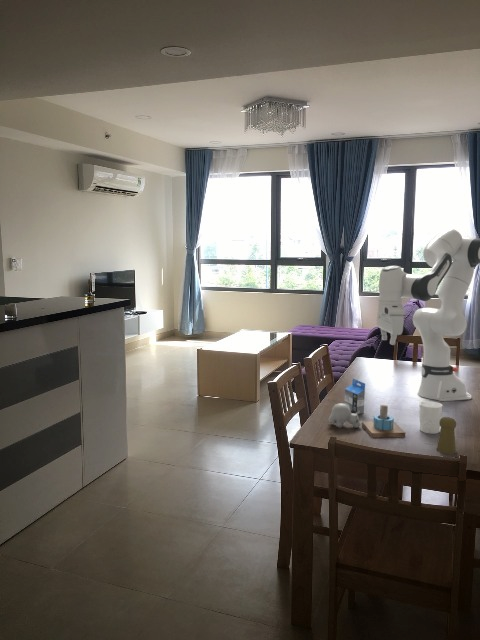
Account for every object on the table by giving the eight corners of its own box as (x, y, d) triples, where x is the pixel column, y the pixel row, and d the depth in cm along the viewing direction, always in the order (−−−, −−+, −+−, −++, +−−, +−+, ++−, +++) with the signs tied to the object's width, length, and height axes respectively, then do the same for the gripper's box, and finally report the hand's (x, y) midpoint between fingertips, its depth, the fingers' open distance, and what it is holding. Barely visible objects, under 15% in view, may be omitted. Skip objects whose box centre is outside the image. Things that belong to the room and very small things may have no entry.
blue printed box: (343, 408, 222) (344, 379, 220) (351, 407, 223) (352, 378, 222) (356, 414, 214) (357, 384, 212) (364, 413, 215) (365, 383, 213)
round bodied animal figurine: (355, 437, 196) (365, 418, 193) (325, 422, 198) (334, 403, 196) (357, 431, 202) (367, 411, 200) (328, 416, 205) (337, 397, 203)
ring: (371, 424, 198) (372, 414, 197) (389, 423, 198) (389, 414, 198) (377, 430, 191) (377, 420, 191) (395, 429, 192) (395, 420, 191)
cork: (439, 445, 181) (441, 414, 180) (457, 449, 178) (460, 417, 176) (434, 451, 177) (436, 419, 175) (453, 455, 173) (455, 422, 172)
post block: (393, 425, 201) (394, 400, 200) (405, 436, 190) (406, 410, 188) (362, 425, 201) (362, 401, 199) (371, 437, 189) (372, 411, 187)
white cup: (414, 427, 199) (416, 401, 198) (435, 426, 200) (436, 400, 198) (423, 434, 191) (425, 407, 190) (444, 434, 192) (446, 407, 191)
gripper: (373, 304, 220) (372, 337, 222) (390, 311, 200) (389, 347, 202) (388, 304, 220) (387, 337, 223) (407, 310, 200) (405, 347, 202)
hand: (388, 342), depth 212 cm, fingers open, 8 cm apart
